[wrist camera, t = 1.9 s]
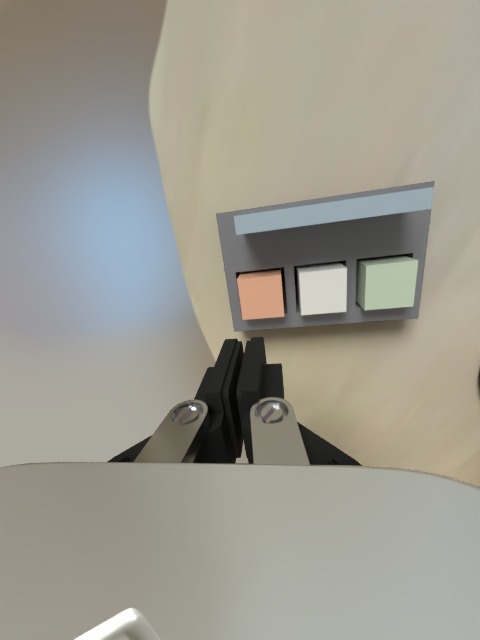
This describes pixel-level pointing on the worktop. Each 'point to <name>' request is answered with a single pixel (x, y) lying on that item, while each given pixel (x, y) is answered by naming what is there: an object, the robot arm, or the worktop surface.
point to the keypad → (326, 246)
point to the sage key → (386, 282)
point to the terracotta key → (261, 294)
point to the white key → (322, 288)
